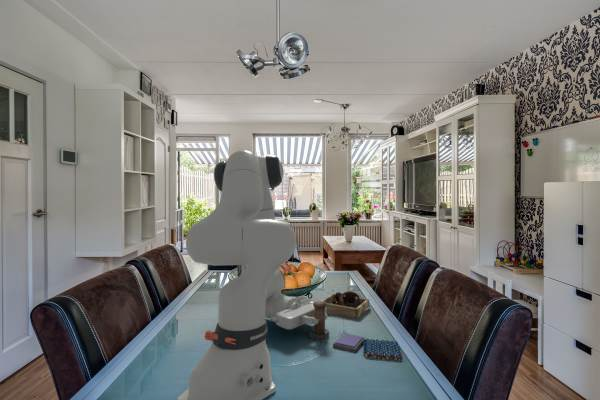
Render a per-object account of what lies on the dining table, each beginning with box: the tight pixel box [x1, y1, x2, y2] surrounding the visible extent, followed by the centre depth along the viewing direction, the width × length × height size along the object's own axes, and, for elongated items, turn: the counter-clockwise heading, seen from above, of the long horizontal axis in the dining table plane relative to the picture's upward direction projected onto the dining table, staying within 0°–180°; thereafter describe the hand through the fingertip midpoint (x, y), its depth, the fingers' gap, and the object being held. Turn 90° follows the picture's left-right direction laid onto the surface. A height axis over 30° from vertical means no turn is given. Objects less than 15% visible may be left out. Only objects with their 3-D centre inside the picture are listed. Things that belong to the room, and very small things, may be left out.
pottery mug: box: [334, 290, 361, 308], centre depth 135 cm, size 12×10×8 cm
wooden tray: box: [321, 293, 370, 319], centre depth 135 cm, size 14×16×4 cm
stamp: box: [309, 300, 330, 342], centre depth 108 cm, size 4×4×11 cm
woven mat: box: [362, 338, 403, 361], centre depth 98 cm, size 10×11×2 cm
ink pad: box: [332, 332, 366, 353], centre depth 103 cm, size 9×7×1 cm
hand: (321, 319), depth 107 cm, fingers closed on stamp, 3 cm apart
